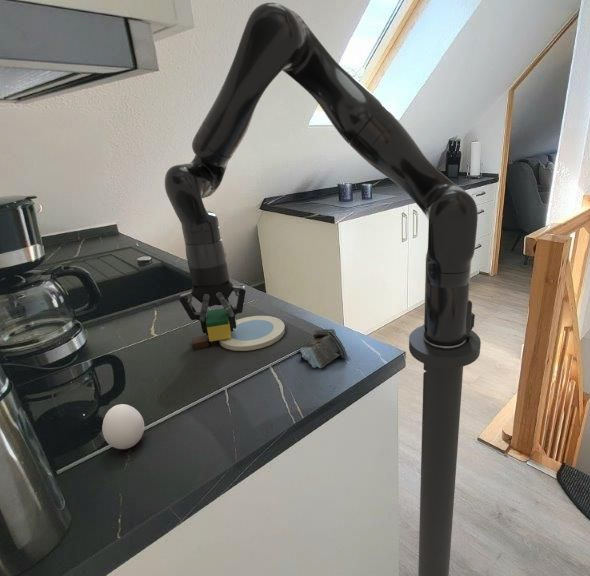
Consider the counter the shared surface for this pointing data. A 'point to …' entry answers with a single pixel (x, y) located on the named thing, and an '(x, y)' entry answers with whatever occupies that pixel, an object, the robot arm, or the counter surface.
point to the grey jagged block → (323, 348)
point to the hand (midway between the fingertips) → (220, 331)
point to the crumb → (200, 342)
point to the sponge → (218, 324)
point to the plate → (254, 333)
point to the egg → (122, 426)
